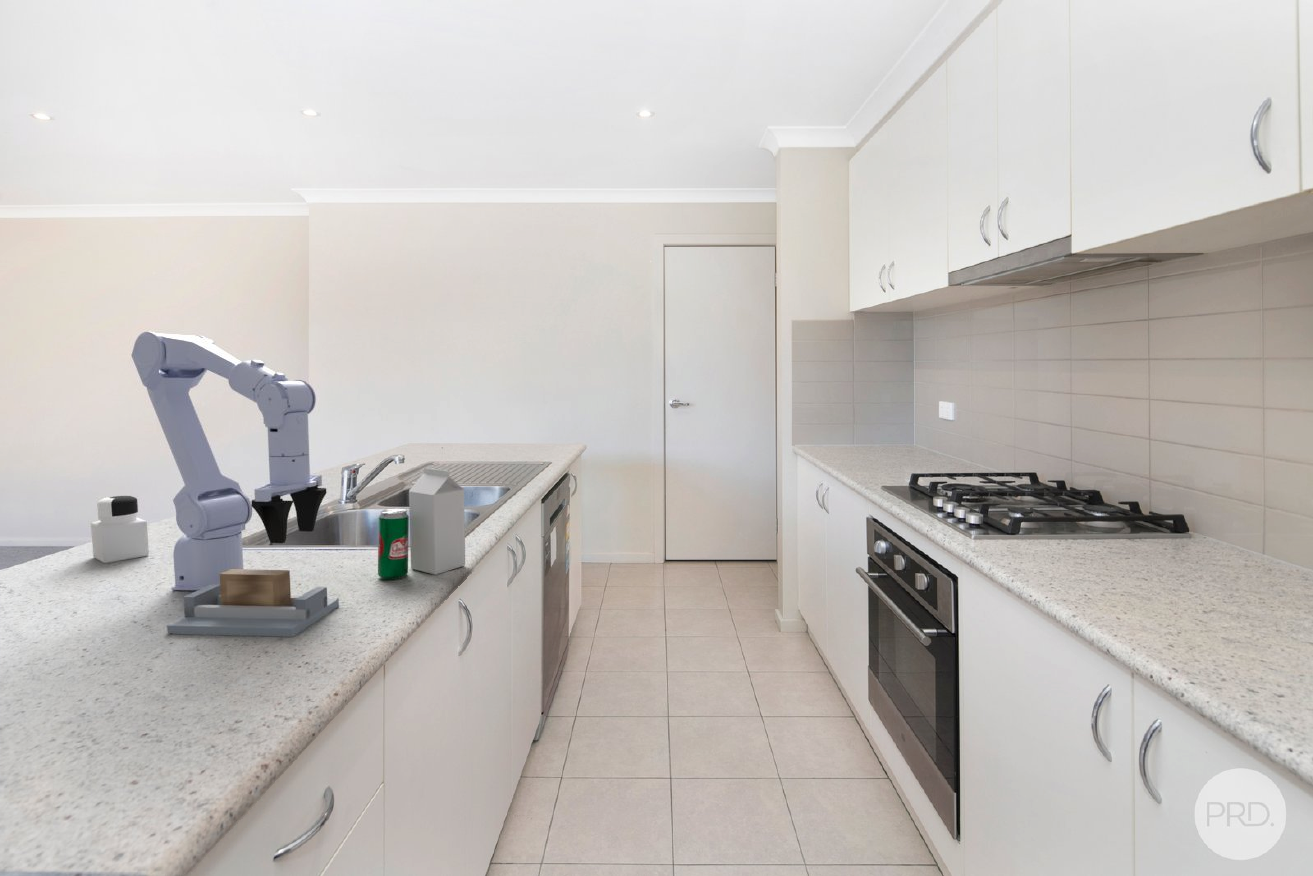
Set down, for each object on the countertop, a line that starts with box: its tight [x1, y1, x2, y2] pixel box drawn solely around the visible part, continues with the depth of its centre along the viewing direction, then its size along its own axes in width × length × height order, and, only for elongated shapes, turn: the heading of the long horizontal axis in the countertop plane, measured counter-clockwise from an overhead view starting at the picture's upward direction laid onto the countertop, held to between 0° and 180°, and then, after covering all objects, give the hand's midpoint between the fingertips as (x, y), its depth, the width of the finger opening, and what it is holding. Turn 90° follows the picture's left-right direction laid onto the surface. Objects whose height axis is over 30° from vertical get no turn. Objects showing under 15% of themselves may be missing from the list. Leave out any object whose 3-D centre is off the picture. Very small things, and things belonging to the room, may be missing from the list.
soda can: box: [377, 508, 410, 580], centre depth 115 cm, size 5×5×12 cm
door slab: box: [219, 568, 292, 607], centre depth 94 cm, size 9×2×6 cm, turn 88°
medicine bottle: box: [90, 495, 150, 564], centre depth 125 cm, size 7×7×12 cm
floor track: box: [166, 584, 340, 638], centre depth 94 cm, size 18×12×4 cm, turn 88°
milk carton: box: [408, 467, 466, 575], centre depth 120 cm, size 7×7×19 cm
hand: (292, 536), depth 104 cm, fingers open, 7 cm apart
